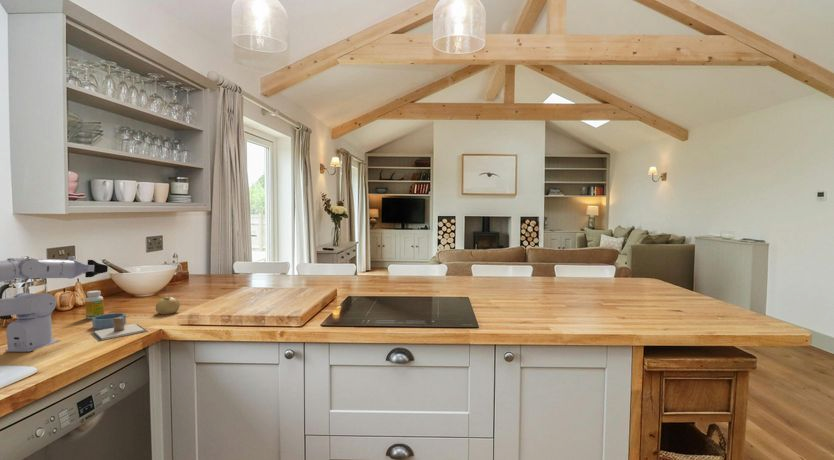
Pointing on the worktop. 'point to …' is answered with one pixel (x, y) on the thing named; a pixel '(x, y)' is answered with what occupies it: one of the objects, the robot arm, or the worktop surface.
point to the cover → (118, 329)
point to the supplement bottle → (94, 304)
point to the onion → (167, 305)
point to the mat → (115, 337)
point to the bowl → (106, 320)
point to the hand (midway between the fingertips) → (97, 269)
